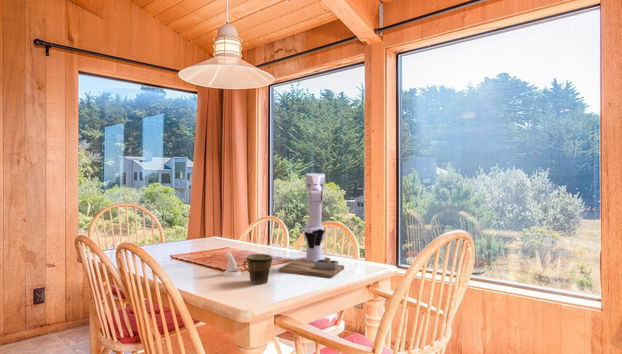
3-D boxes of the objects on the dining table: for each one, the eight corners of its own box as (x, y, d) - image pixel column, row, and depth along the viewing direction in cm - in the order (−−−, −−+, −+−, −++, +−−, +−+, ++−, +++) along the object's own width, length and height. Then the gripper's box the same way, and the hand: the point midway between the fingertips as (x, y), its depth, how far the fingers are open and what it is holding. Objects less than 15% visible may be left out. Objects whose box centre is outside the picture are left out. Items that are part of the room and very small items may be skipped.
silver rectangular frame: (318, 266, 180) (318, 259, 180) (338, 267, 177) (338, 261, 177) (315, 268, 174) (315, 262, 174) (335, 270, 172) (335, 263, 172)
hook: (213, 265, 160) (217, 253, 166) (224, 285, 167) (228, 272, 172) (230, 262, 159) (234, 250, 165) (241, 282, 165) (244, 270, 171)
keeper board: (295, 263, 191) (295, 250, 191) (344, 268, 182) (344, 255, 182) (278, 271, 174) (279, 257, 174) (331, 277, 165) (331, 263, 165)
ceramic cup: (259, 277, 164) (260, 252, 164) (277, 282, 157) (277, 256, 157) (234, 283, 154) (235, 257, 153) (252, 288, 147) (253, 261, 147)
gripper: (312, 215, 191) (312, 243, 191) (300, 218, 178) (300, 248, 178) (326, 216, 189) (326, 245, 189) (315, 218, 175) (315, 250, 175)
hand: (314, 246), depth 183 cm, fingers open, 7 cm apart
